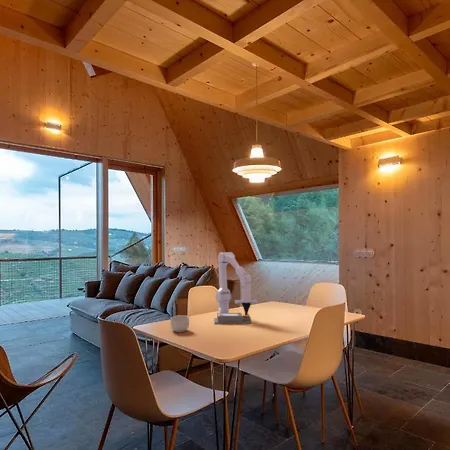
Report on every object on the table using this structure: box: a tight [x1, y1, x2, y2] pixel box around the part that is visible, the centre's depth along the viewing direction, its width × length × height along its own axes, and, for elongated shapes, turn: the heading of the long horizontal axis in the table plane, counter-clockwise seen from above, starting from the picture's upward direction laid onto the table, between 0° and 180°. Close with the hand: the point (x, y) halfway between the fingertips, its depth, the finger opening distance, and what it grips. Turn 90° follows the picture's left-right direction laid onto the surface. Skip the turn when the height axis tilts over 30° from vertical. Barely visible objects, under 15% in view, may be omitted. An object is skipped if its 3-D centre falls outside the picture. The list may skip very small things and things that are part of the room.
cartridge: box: [218, 308, 238, 316], centre depth 238 cm, size 6×13×7 cm, turn 94°
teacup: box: [169, 314, 190, 333], centre depth 216 cm, size 14×11×8 cm
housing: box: [213, 312, 252, 325], centre depth 238 cm, size 12×23×5 cm, turn 94°
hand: (246, 314), depth 239 cm, fingers closed, pressing on plunger
